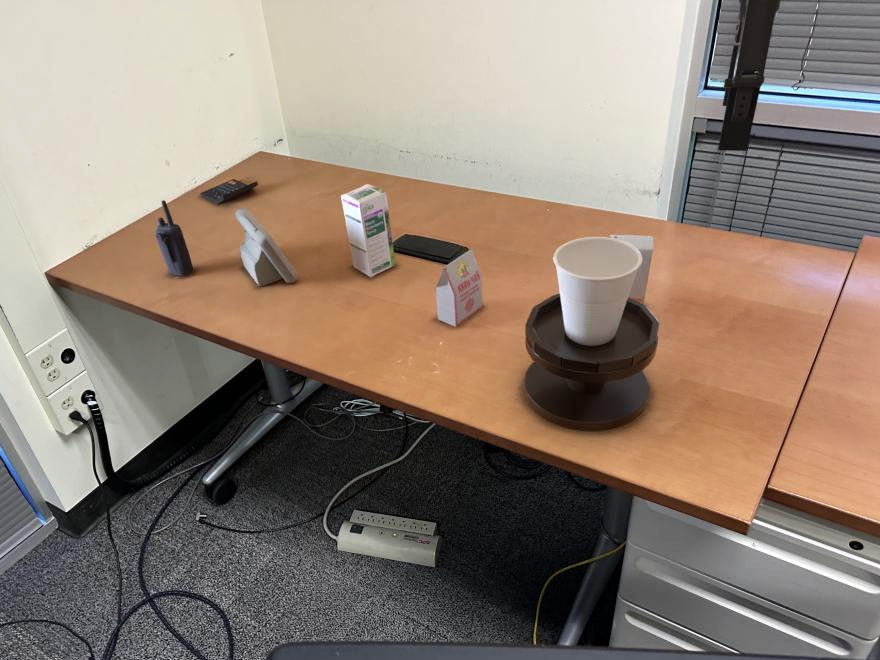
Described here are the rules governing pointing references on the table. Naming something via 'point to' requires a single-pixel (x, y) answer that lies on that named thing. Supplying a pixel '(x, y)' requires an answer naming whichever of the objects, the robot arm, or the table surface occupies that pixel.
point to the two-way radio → (173, 245)
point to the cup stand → (589, 369)
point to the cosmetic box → (641, 278)
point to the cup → (595, 286)
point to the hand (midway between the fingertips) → (733, 126)
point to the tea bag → (459, 290)
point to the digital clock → (262, 253)
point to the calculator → (227, 191)
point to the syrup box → (369, 229)
